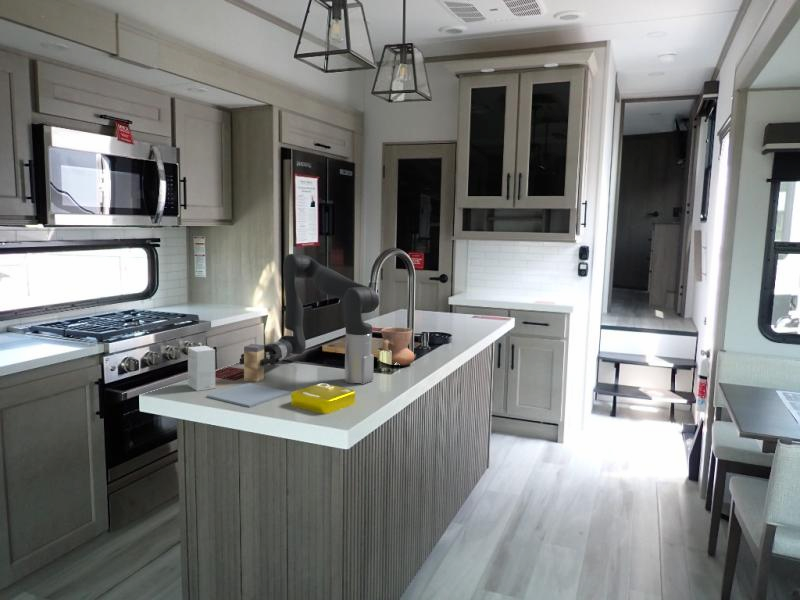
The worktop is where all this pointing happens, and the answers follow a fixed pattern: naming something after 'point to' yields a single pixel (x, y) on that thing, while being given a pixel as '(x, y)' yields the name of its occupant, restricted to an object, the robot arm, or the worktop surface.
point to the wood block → (253, 362)
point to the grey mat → (248, 394)
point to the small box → (201, 368)
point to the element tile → (323, 398)
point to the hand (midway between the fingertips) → (251, 362)
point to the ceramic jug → (398, 344)
